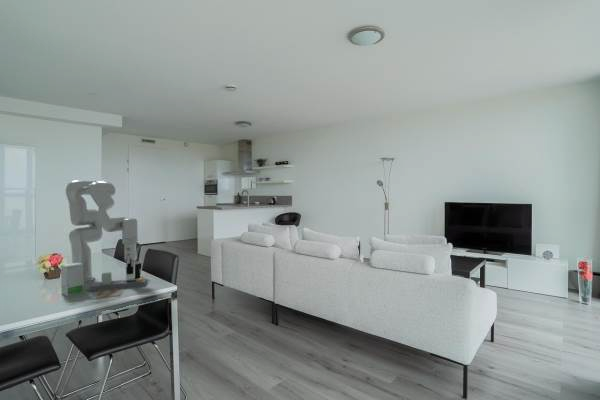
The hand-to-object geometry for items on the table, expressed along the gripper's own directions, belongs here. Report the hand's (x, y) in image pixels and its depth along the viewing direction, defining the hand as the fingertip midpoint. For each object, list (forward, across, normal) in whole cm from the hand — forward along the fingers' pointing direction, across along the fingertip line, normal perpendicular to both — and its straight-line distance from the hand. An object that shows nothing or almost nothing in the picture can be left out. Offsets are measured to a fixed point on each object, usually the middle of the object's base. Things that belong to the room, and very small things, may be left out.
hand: (130, 272), depth 178 cm
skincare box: (+8, -3, +27) cm, 28 cm away
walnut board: (+8, -12, +8) cm, 16 cm away
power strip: (+8, 0, +6) cm, 10 cm away
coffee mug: (+8, +16, 0) cm, 18 cm away
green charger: (+7, 0, +12) cm, 14 cm away
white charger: (+3, 0, 0) cm, 3 cm away
